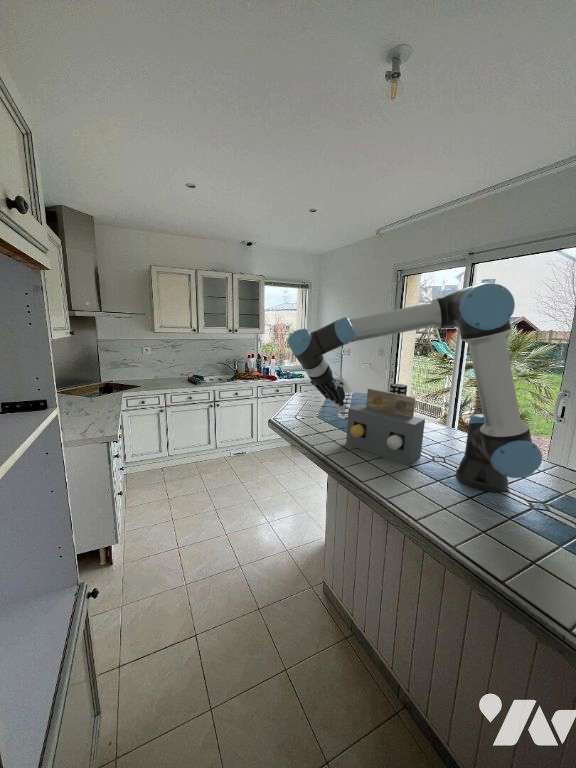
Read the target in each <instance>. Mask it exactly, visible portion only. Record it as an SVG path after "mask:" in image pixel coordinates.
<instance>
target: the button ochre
mask: <svg viewBox="0 0 576 768" xmlns="http://www.w3.org/2000/svg"><path fill="white" fill-rule="evenodd" d="M350 431H351V434H352V436H353V437H355V438H358V437H360V436H362V435H364V434H365V432H366V429H365V427H364V426H363V425H362V424H357V425H354V426H352V427H351V430H350Z"/></svg>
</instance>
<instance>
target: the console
mask: <svg viewBox="0 0 576 768" xmlns="http://www.w3.org/2000/svg"><path fill="white" fill-rule="evenodd" d="M347 414H348V415H347V424H346V425H347V426H346V441H345V445H348V446H351V447H354V448H357V449H360V450H363V451H365V452H368V453H371V454H375V455H377V456H380V457H383V458H385V459H388V460H392V461H395V462H398V463H401V464H403V465H407V466H408V467H409V466H410V467H411V466H412V465H413V464H415V463H416V462H417V461H418V460H419V459H421V455H422V448H423V440H424V432H425V425H426V424H425V423H426V418H421V417H418V416H414V415H413V418H411V417H406V416H402V415H398V414H394V413H390V412H385V411H381V410H377V409H373V408H369V407H366V404H363V403H362V404H361V403H360V404H358V405H357V404H356V405H353V406H351V407H349V408H348V412H347ZM357 424H362V425H363V426H364V427H365V429H366V432H365V434H364V435H362V436H360V437H358V438H355V437H353V436H352V434H351V431H350V430H351V427H352V426H354V425H357ZM394 434H398V435H400V436H401V437H402V438H403V441H404V443H403V445H402V446H401V447H399V448H398V449H396V450H393V449H391V448H389V447H388V445H387V439H388V438H389V437H390V436H392V435H394Z"/></svg>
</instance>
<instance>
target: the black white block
mask: <svg viewBox="0 0 576 768" xmlns="http://www.w3.org/2000/svg"><path fill="white" fill-rule="evenodd" d="M407 392H408V385H406V384H403V383H402V384H401V383H391V384H390V385H389V393H394V394H400V395H405V396H407Z"/></svg>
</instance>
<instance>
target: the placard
mask: <svg viewBox="0 0 576 768" xmlns="http://www.w3.org/2000/svg"><path fill="white" fill-rule="evenodd" d="M415 403H416V397H415V396H410V395H406V396H405V395H400V394H394V393H390V391H389V392H388V391H384V390H383V391H382V390H378V389H373V388H367V394H366V403H365V405H366V407H369V408H373V409H377V410H381V411H385V412H390V413H394V414H398V415H402V416H406V417H411V418H413V416H414V414H415V413H414V412H415Z"/></svg>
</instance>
